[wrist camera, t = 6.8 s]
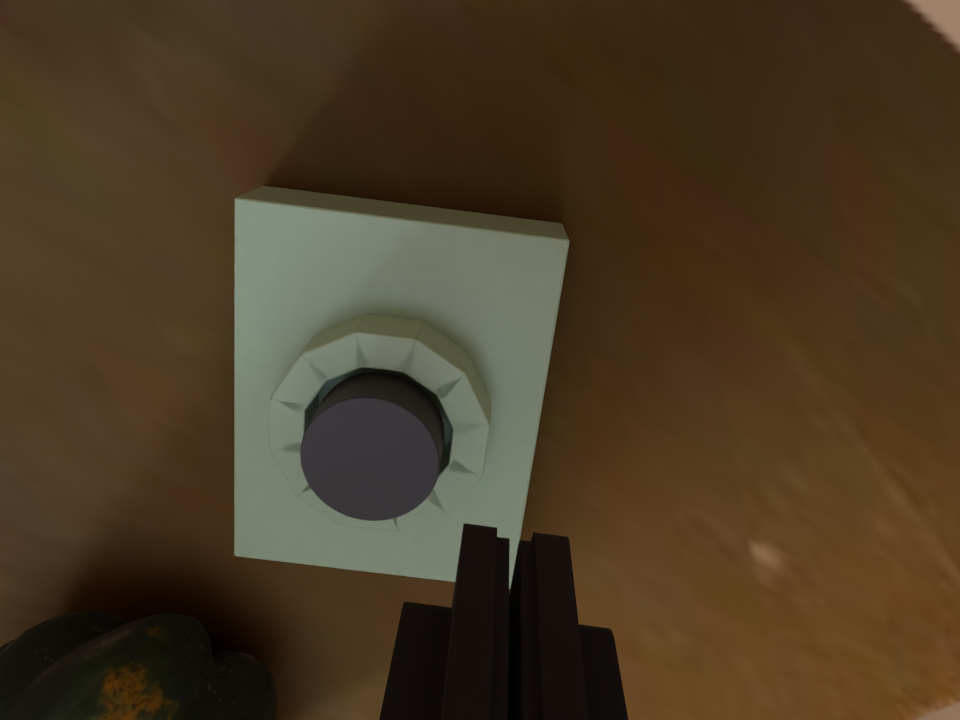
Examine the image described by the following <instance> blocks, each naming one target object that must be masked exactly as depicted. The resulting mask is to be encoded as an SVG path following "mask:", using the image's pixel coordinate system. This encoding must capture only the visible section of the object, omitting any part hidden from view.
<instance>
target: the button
mask: <svg viewBox="0 0 960 720" xmlns="http://www.w3.org/2000/svg"><path fill="white" fill-rule="evenodd" d="M443 445H444V425H443V421H442V417H441V415H440V412H439V410H438V408H437V407H436V405H435V403H434V402H433V401H432V399H431V398H430V397H429V396H428V395H427V394H426V393H425V392H424V391H423V390H422V389H421V388H419V387H418V386H417V385H415V384H414V383H412V382H410V381H408V380H406V379H404V378H402V377H399V376H395V375H391V374H386V373H365V374H360V375H356V376H353V377H350V378H348V379H346V380H344V381H342V382H340V383H339V384H337V385H336V386H335V387H334V388H332V389H331V390H330V391H329V392H328V394H327V395H326V396H325V397H324V399H323V400H322V402H321V404H320V405H319V407H318V409H317V411H316V413H315V414H314V416H313V418H312V420H311V421H310V423H309V425H308V427H307V429H306V431H305V433H304V435H303V439H302V442H301V449H300V461H301V466H302V470H303V473H304V476H305V478H306V480H307V482H308V484H309V486H310V487H311V489H312V490H313V492H314V493H315V494H316V495H317V496H318V498H319V499H321V500H322V501H323V502H324V503H325V504H326V505H328V506H329V507H331V508H332V509H334V510H336V511H337V512H339V513H341V514H344V515H346V516H349V517H352V518H355V519H360V520H368V521H382V520H388V519H393V518H397V517H400V516H402V515H404V514H407V513H409V512H410V511H412V510H414V509H415V508H416V507H418V506H419V505H420V504H422V503H423V501H424V500H425V499H426V498H427V497H428V496H429V494H430V493H431V492H432V490H433V488H434V486H435V484H436V481H437V479H438V475H439V470H440V463H441V457H442V451H443Z"/></svg>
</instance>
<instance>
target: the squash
mask: <svg viewBox="0 0 960 720" xmlns="http://www.w3.org/2000/svg"><path fill="white" fill-rule="evenodd" d="M275 715H276V690H275V686H274V682H273V678H272V676H271V674H270V672H269V671H268V669H267V668H266V666H265V665H264V664H263V663H262V662H260V661H259V660H258V659H257V658H255V657H253V656H251V655H249V654H245V653H240V652H234V651H221V652H215V653H213V654H212V649H211V643H210V639H209V635H208V633H207V631H206V629H205V628H204V626H203V625H202V624H201V623H200V622H199V621H198V620H197V619H195V618H193V617H191V616H186V615H181V614H176V613H162V614H157V615H153V616H149V617H145V618H142V619H140V620H136V621H131V622H129V623H127V622H126V621H124V620H123V619H122V618H120V617H117V616H114V615H110V614H107V613H103V612H92V611H80V612H74V613H69V614H65V615H62V616H58V617H55V618H52V619H49V620H47V621H44V622H42V623H40V624H38V625H36V626H34V627H32V628H31V629H29V630H27V631H26V632H24V633H23V634H22V635H21V636H19V637H18V638H17V639H15V640H12V641H10V642H9V643H7V644H5V645H3V646H1V647H0V720H275Z"/></svg>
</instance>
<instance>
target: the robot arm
mask: <svg viewBox="0 0 960 720" xmlns="http://www.w3.org/2000/svg"><path fill="white" fill-rule="evenodd" d="M509 549H510V540H509V538H502V537H497V527H489V526H482V525H474V524H466V523H464V524H463V531H462V538H461V545H460V552H459V559H458V566H457V573H456V580H455V587H454V594H453V601H452V608H449V607H441V606H434V605H426V604H419V603H411V602H404V604H403V608H402V612H401V617H400V622H399V627H398V632H397V637H396V641H395V646H394V651H393V656H392V661H391V666H390V671H389V676H388V680H387V685H386V690H385V695H384V700H383V705H382V710H381V715H380V720H628V716H627V710H626V704H625V699H624V693H623V687H622V681H621V675H620V669H619V664H618V658H617V652H616V646H615V640H614V637H613V633H612V631H611V630H610V629H608V628H601V627H593V626H586V625H579V624H578V615H577V606H576V597H575V588H574V579H573V571H572V562H571V553H570V544H569V538H568V537H565V536H557V535H549V534H542V533H533V536H532V540H531V541H524V540H520V541H519V544H518V549H517V554H516V560H515V566H514V571H513V577H512V583H511V588H510V594H509Z"/></svg>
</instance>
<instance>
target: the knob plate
mask: <svg viewBox="0 0 960 720" xmlns="http://www.w3.org/2000/svg"><path fill="white" fill-rule="evenodd" d="M569 243H570V241H569V238H568V236H567V234H566V231H565V229H564V227H563V224H561V223H555V222H547V221H539V220H531V219H524V218H516V217H508V216H500V215H492V214H484V213H476V212H468V211H460V210H452V209H445V208H437V207H429V206H421V205H413V204H405V203H397V202H389V201H381V200H374V199H366V198H358V197H350V196H342V195H334V194H326V193H318V192H310V191H303V190H295V189H287V188H279V187H271V186H261V187H259V188H257V189H254V190H252V191H250V192H247V193H245V194H243V195H241V196H238V197H236V198H235V336H234V555H235V556H238V557H247V558H255V559H264V560H272V561H281V562H289V563H298V564H306V565H315V566H323V567H332V568H340V569H349V570H357V571H366V572H374V573H383V574H391V575H400V576H408V577H417V578H425V579H434V580H442V581H451V582H455V580H456V573H457V566H458V559H459V552H460V545H461V538H462V531H463V524H464V523H466V524H474V525H482V526H489V527H497V537H502V538H509V540H510V549H509V588H511V583H512V577H513V571H514V566H515V560H516V554H517V549H518V544H519V541H520V537H521V531H522V525H523V519H524V513H525V507H526V501H527V495H528V489H529V483H530V477H531V471H532V465H533V459H534V453H535V447H536V441H537V435H538V429H539V423H540V417H541V411H542V405H543V399H544V393H545V387H546V381H547V375H548V369H549V363H550V357H551V351H552V345H553V339H554V333H555V327H556V321H557V315H558V309H559V303H560V297H561V291H562V285H563V279H564V273H565V267H566V261H567V255H568V249H569ZM365 373H386V374H391V375H395V376H399V377H402V378H404V379H406V380H408V381H410V382H412V383H414V384H415V385H417V386H418V387H419V388H421V389H422V390H423V391H424V392H425V393H426V394H427V395H428V396H429V397H430V398H431V399H432V401H433V402H434V403H435V405H436V407H437V408H438V410H439V412H440V415H441V417H442V421H443V425H444V445H443V451H442V457H441V463H440V470H439V475H438V479H437V481H436V484H435V486H434V488H433V490H432V492H431V493H430V494H429V496H428V497H427V498H426V499H425V500H424V501H423V503H422V504H420V505H419V506H418V507H416V508H415V509H414V510H412V511H410V512H409V513H407V514H404V515H402V516H400V517H397V518H393V519H388V520H382V521H368V520H360V519H355V518H352V517H349V516H346V515H344V514H341V513H339V512H337V511H336V510H334V509H332V508H331V507H329V506H328V505H326V504H325V503H324V502H323V501H322V500H321V499H319V498H318V496H317V495H316V494H315V493H314V492H313V490H312V489H311V487H310V486H309V484H308V482H307V480H306V478H305V476H304V473H303V470H302V466H301V461H300V449H301V442H302V439H303V435H304V433H305V431H306V429H307V427H308V425H309V423H310V421H311V420H312V418H313V416H314V414H315V413H316V411H317V409H318V407H319V405H320V404H321V402H322V400H323V399H324V397H325V396H326V395H327V394H328V392H329V391H330V390H331V389H332V388H334V387H335V386H336V385H337V384H339V383H340V382H342V381H344V380H346V379H348V378H350V377H353V376H356V375H360V374H365Z"/></svg>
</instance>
